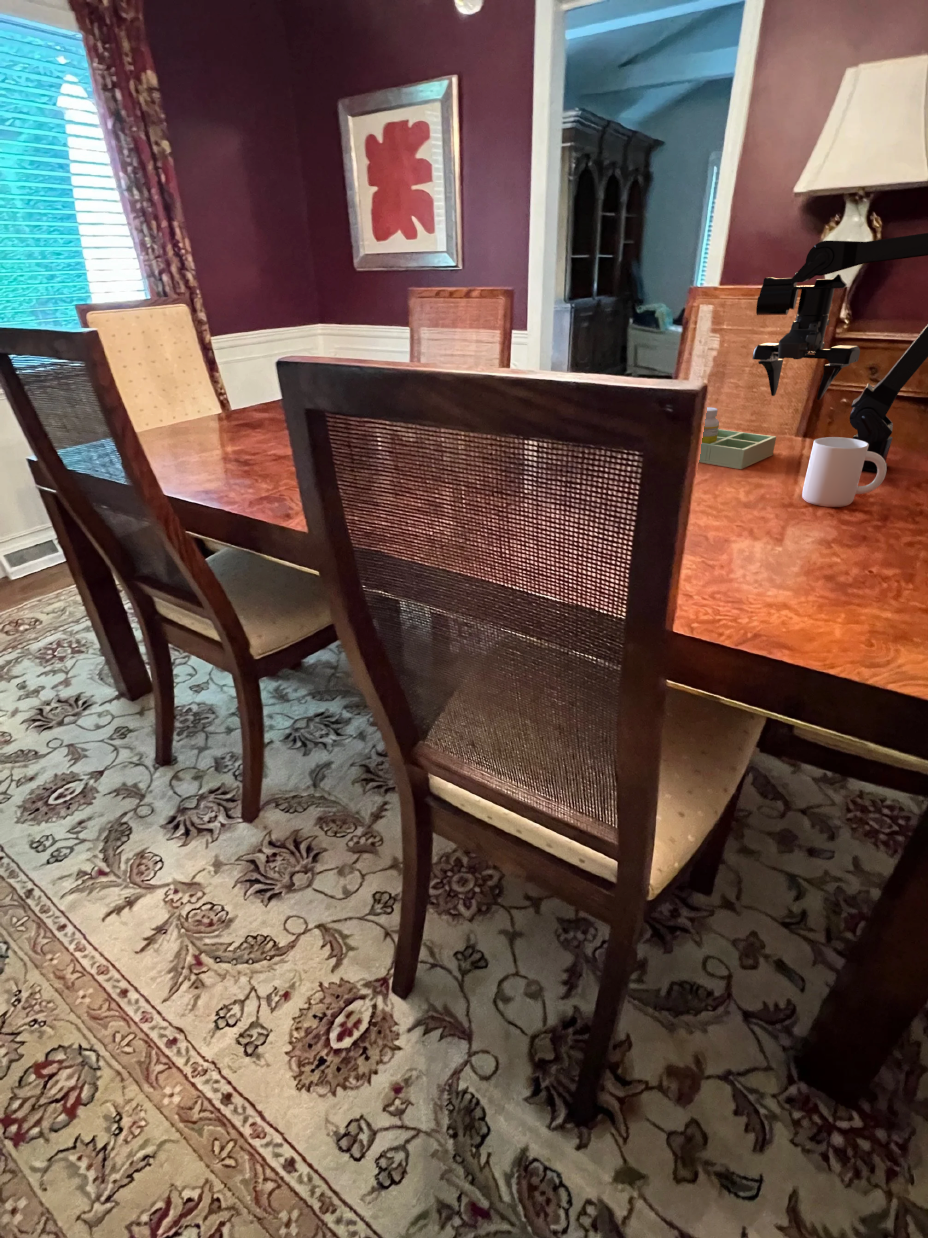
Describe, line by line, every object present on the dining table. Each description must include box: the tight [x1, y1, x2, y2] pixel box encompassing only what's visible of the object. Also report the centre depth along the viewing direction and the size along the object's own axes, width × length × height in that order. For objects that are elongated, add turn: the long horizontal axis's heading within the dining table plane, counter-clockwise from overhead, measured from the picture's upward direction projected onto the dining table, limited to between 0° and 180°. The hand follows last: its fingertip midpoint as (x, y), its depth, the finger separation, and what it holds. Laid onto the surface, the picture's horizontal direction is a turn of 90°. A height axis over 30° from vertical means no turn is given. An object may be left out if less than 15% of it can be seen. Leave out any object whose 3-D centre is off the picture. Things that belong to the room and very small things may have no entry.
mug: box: [801, 436, 888, 508], centre depth 108 cm, size 12×8×10 cm
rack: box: [698, 428, 777, 470], centre depth 139 cm, size 15×15×4 cm
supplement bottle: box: [702, 406, 720, 444], centre depth 137 cm, size 5×5×10 cm
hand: (795, 397), depth 129 cm, fingers open, 9 cm apart
